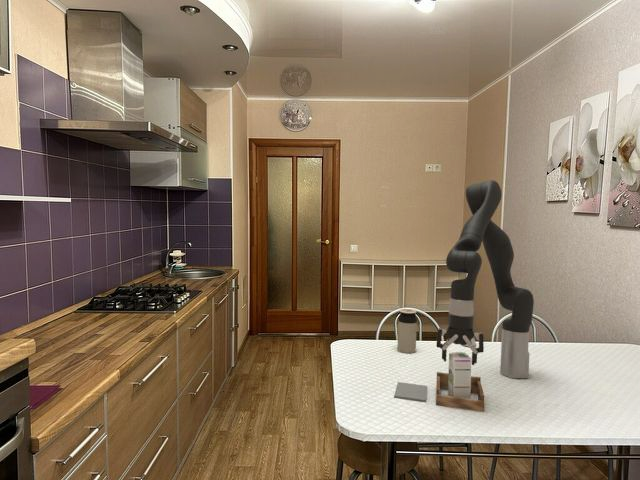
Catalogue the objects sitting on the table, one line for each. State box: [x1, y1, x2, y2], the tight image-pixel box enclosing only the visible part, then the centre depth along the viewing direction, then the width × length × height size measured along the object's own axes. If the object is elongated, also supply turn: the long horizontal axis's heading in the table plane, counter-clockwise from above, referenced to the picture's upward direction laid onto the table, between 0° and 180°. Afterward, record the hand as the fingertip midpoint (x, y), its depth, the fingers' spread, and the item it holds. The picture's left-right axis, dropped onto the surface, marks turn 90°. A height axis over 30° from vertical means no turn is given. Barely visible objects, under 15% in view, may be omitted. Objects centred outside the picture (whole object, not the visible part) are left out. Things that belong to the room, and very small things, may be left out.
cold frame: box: [435, 371, 485, 413], centre depth 130 cm, size 14×14×6 cm
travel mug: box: [396, 308, 418, 354], centre depth 179 cm, size 8×8×18 cm
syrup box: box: [447, 351, 472, 399], centre depth 130 cm, size 6×6×14 cm
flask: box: [461, 336, 477, 348], centre depth 190 cm, size 7×7×10 cm
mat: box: [393, 381, 428, 403], centre depth 135 cm, size 10×12×1 cm
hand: (458, 362), depth 130 cm, fingers open, 8 cm apart
